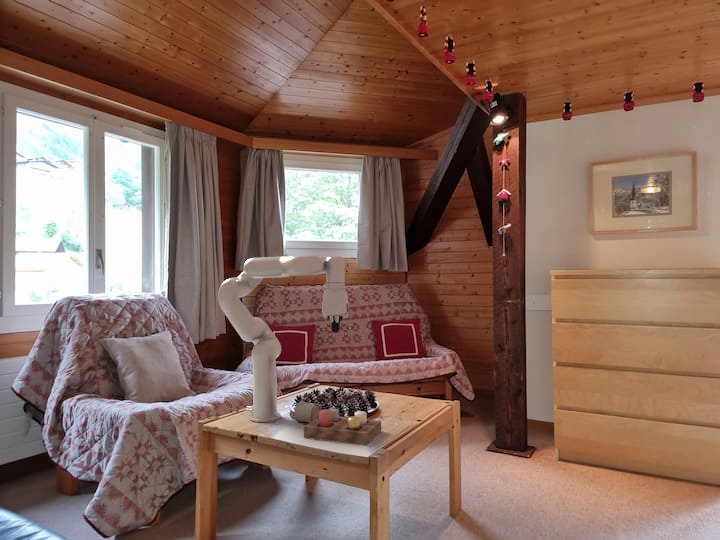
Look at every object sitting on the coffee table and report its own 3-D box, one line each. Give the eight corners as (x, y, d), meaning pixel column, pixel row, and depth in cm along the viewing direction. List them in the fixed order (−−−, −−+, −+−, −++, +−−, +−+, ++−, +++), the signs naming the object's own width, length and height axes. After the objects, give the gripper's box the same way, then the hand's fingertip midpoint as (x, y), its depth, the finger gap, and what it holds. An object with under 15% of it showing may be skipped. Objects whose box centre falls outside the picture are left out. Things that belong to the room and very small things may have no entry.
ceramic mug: (312, 425, 199) (312, 405, 199) (293, 423, 202) (293, 403, 202) (324, 418, 209) (324, 399, 209) (306, 416, 212) (306, 397, 212)
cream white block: (352, 428, 188) (352, 413, 188) (357, 424, 192) (357, 410, 192) (364, 429, 186) (364, 414, 186) (368, 425, 190) (368, 411, 190)
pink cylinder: (317, 426, 185) (317, 412, 185) (322, 423, 189) (322, 408, 189) (328, 427, 184) (328, 413, 184) (333, 424, 188) (333, 410, 188)
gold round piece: (345, 433, 181) (345, 419, 181) (350, 430, 185) (350, 415, 185) (357, 435, 180) (357, 420, 180) (361, 431, 184) (361, 416, 184)
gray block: (325, 425, 192) (325, 411, 192) (330, 421, 196) (330, 408, 196) (336, 426, 190) (336, 412, 190) (340, 423, 194) (340, 409, 194)
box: (303, 437, 184) (303, 426, 184) (322, 425, 199) (322, 414, 199) (366, 445, 176) (366, 433, 176) (381, 431, 191) (381, 420, 191)
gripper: (314, 287, 206) (314, 332, 206) (349, 287, 201) (349, 334, 201) (322, 286, 213) (322, 330, 213) (356, 286, 208) (356, 332, 208)
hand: (335, 332), depth 207 cm, fingers closed
